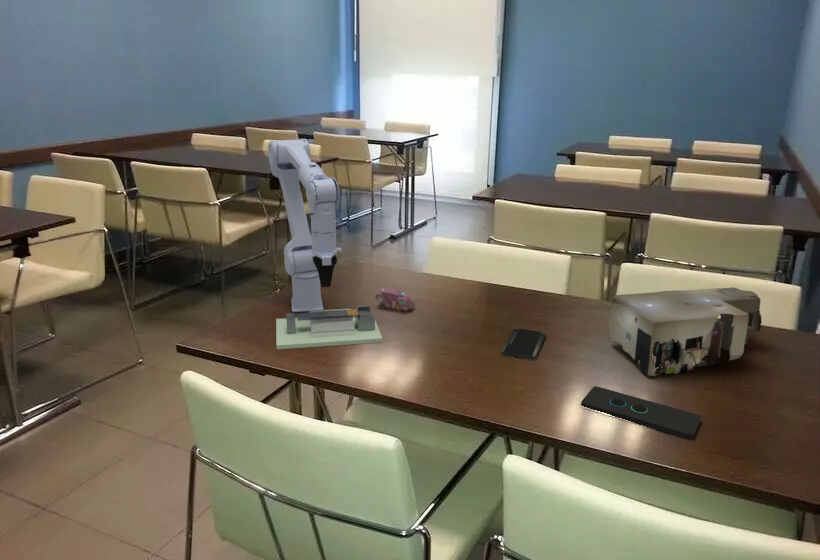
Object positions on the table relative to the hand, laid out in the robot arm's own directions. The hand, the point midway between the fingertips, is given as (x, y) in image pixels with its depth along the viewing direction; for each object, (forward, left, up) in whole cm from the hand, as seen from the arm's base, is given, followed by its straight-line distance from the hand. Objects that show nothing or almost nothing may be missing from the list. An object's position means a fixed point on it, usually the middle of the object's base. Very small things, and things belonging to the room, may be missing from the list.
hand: (325, 286), depth 154 cm
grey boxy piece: (+28, +77, -11) cm, 83 cm away
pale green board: (+4, 0, -10) cm, 11 cm away
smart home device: (+52, +54, -11) cm, 76 cm away
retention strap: (+4, +1, -6) cm, 7 cm away
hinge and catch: (+4, +1, -9) cm, 10 cm away
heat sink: (+4, +1, -9) cm, 10 cm away
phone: (+19, +44, -11) cm, 49 cm away
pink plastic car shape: (-9, +18, -11) cm, 23 cm away
